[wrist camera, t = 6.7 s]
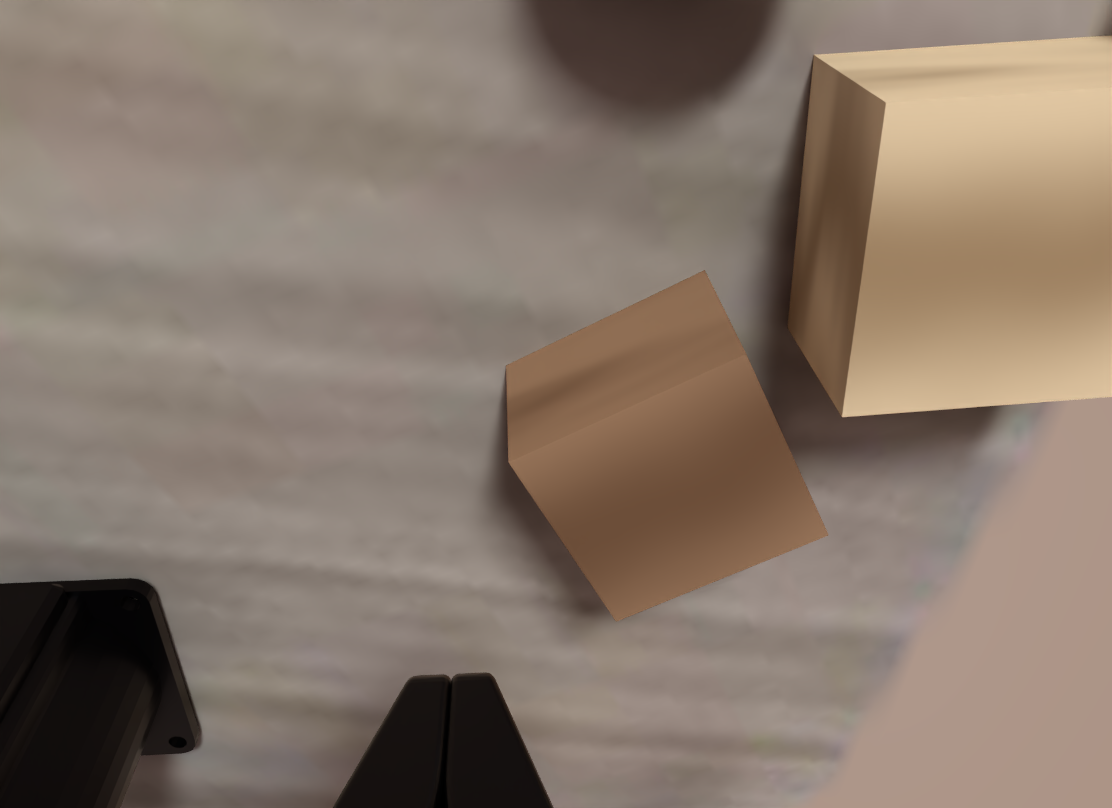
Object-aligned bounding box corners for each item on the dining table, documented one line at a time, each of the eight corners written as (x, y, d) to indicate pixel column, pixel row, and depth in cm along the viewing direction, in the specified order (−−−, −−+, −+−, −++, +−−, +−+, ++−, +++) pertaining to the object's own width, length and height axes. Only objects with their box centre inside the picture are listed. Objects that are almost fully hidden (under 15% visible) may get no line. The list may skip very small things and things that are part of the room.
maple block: (1039, 305, 21) (1143, 394, 18) (785, 324, 21) (841, 417, 18) (1109, 33, 18) (1252, 77, 15) (810, 52, 18) (885, 102, 14)
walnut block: (778, 431, 23) (828, 535, 19) (598, 509, 24) (616, 621, 20) (703, 267, 20) (746, 353, 17) (506, 362, 21) (508, 462, 18)
